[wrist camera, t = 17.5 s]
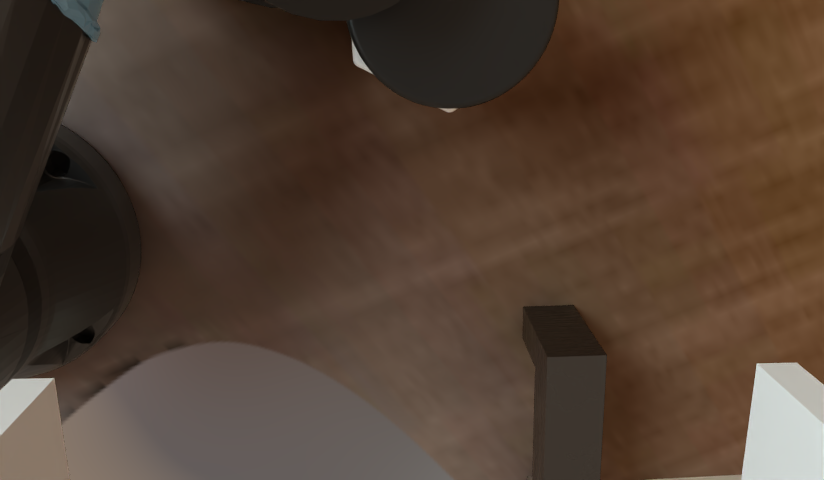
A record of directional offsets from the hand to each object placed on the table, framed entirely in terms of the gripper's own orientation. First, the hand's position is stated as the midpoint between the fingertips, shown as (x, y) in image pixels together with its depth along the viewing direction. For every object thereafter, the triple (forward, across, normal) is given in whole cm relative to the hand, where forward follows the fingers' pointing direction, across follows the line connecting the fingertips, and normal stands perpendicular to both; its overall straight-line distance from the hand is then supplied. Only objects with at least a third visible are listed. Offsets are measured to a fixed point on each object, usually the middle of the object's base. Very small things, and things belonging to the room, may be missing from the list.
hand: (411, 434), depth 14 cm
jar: (+29, +2, +8) cm, 30 cm away
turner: (+28, +9, -19) cm, 35 cm away
